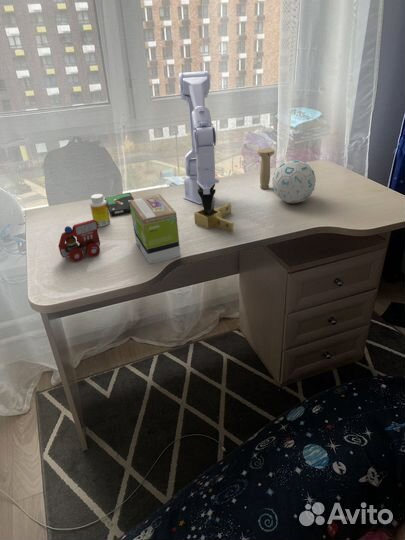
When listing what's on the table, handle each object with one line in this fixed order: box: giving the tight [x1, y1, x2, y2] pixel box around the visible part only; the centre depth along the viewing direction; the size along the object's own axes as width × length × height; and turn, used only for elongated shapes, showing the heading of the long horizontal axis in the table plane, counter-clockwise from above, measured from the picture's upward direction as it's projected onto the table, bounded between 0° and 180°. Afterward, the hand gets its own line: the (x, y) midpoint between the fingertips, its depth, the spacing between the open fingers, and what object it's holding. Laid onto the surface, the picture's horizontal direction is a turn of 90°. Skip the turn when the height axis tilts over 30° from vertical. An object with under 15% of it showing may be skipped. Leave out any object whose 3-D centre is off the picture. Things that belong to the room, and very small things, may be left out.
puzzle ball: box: [272, 159, 317, 204], centre depth 147 cm, size 15×15×15 cm
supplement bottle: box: [89, 193, 111, 228], centre depth 139 cm, size 6×6×10 cm
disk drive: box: [104, 192, 135, 217], centre depth 153 cm, size 10×3×15 cm
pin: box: [204, 195, 215, 215], centre depth 135 cm, size 4×4×7 cm
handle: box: [257, 147, 275, 190], centre depth 159 cm, size 5×6×15 cm
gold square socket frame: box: [193, 202, 235, 234], centre depth 137 cm, size 14×14×4 cm
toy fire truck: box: [57, 219, 101, 263], centre depth 121 cm, size 7×12×10 cm, turn 120°
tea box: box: [129, 193, 181, 265], centre depth 121 cm, size 15×10×15 cm, turn 23°
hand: (207, 206), depth 135 cm, fingers closed on pin, 4 cm apart
